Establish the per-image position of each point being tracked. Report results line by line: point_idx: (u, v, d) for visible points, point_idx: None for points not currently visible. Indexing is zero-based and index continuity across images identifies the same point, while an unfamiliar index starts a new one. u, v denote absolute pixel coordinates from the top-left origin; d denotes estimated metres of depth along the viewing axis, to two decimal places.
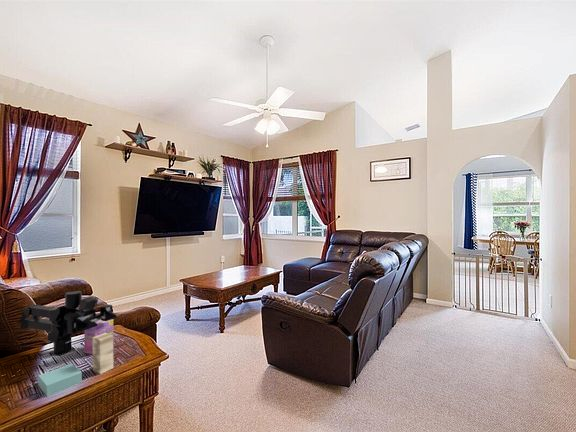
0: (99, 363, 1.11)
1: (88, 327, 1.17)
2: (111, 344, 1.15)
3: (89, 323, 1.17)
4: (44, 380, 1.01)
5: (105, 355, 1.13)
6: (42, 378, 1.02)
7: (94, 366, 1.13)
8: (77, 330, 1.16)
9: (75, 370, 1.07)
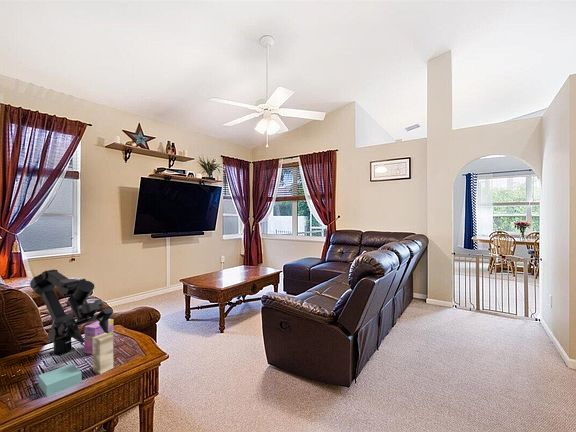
0: (99, 363, 1.11)
1: (75, 338, 1.13)
2: (111, 344, 1.15)
3: (78, 336, 1.12)
4: (44, 380, 1.01)
5: (105, 355, 1.13)
6: (42, 378, 1.02)
7: (94, 366, 1.13)
8: (66, 334, 1.12)
9: (75, 370, 1.07)
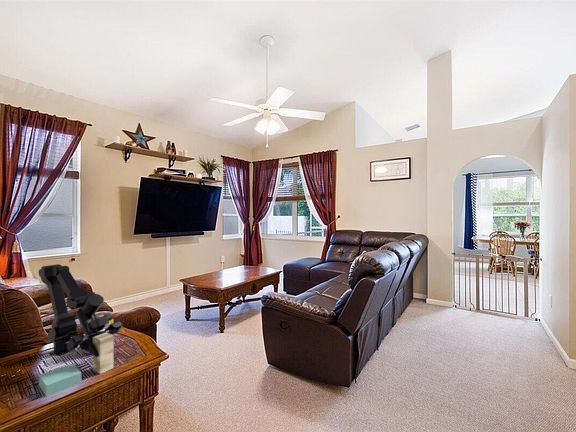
0: (99, 363, 1.11)
1: (90, 352, 1.12)
2: (111, 344, 1.15)
3: (92, 350, 1.11)
4: (44, 380, 1.01)
5: (105, 355, 1.13)
6: (42, 378, 1.02)
7: (94, 366, 1.13)
8: (80, 347, 1.11)
9: (75, 370, 1.07)
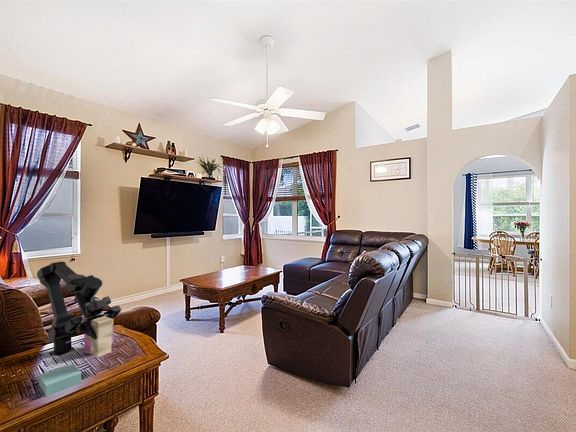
0: (97, 346, 1.11)
1: (88, 334, 1.11)
2: (110, 327, 1.14)
3: (91, 333, 1.11)
4: (44, 380, 1.01)
5: (103, 338, 1.12)
6: (42, 378, 1.02)
7: (92, 349, 1.12)
8: (79, 330, 1.11)
9: (75, 370, 1.07)
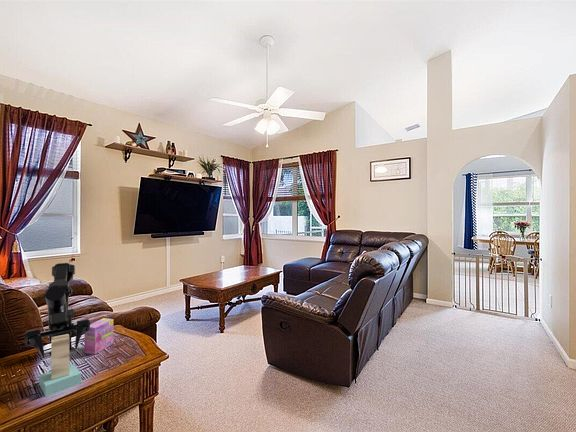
0: (51, 367, 1.02)
1: None
2: (66, 348, 1.04)
3: (39, 350, 1.01)
4: (44, 380, 1.01)
5: (58, 359, 1.02)
6: (42, 378, 1.02)
7: None
8: (31, 344, 1.03)
9: (75, 371, 1.07)
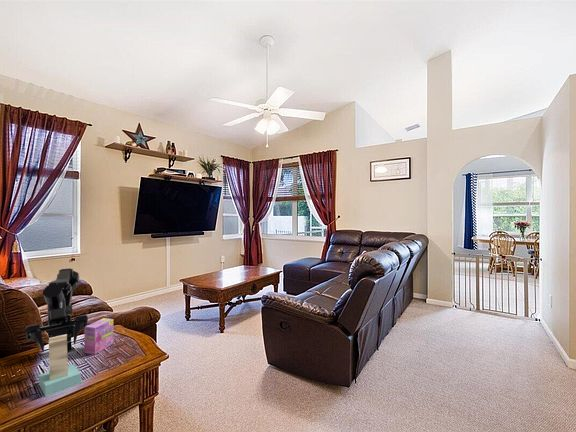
0: None
1: None
2: (64, 349, 1.03)
3: (39, 344, 1.06)
4: (44, 380, 1.01)
5: (56, 360, 1.02)
6: (42, 378, 1.02)
7: None
8: (32, 339, 1.08)
9: (75, 371, 1.07)
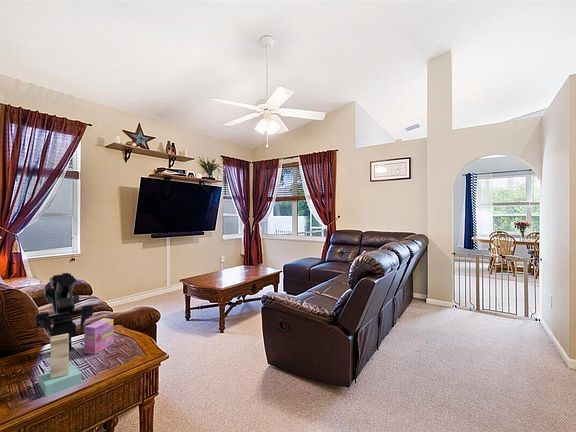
0: None
1: None
2: (65, 347, 1.04)
3: (48, 331, 1.12)
4: (44, 380, 1.01)
5: (57, 358, 1.03)
6: (42, 378, 1.02)
7: None
8: (41, 326, 1.14)
9: (75, 371, 1.07)
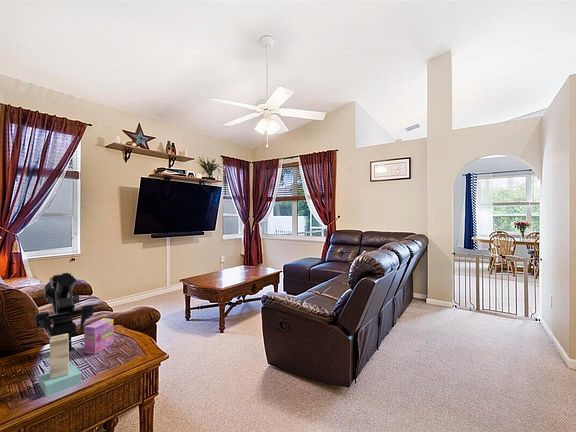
0: (50, 367, 1.02)
1: None
2: (65, 347, 1.04)
3: (48, 331, 1.12)
4: (44, 380, 1.01)
5: (57, 359, 1.03)
6: (42, 378, 1.02)
7: None
8: (41, 326, 1.14)
9: (75, 371, 1.07)
